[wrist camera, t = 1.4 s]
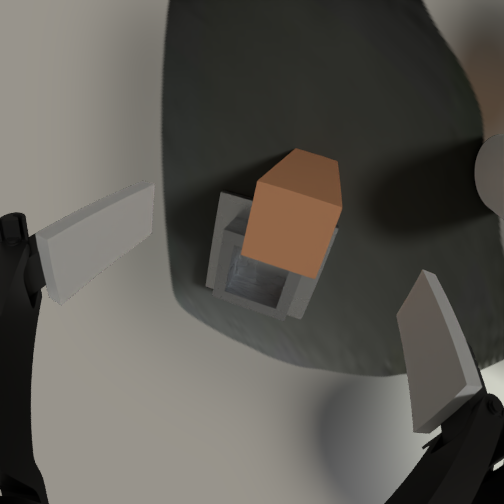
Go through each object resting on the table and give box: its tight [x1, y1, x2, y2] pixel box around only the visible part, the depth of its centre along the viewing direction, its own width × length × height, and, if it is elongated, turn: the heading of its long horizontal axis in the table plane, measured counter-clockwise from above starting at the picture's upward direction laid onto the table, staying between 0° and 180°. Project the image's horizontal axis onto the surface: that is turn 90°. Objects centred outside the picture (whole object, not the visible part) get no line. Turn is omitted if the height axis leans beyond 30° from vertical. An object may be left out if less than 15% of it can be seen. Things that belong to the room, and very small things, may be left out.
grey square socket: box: [206, 190, 338, 321], centre depth 29 cm, size 12×12×4 cm
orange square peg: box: [241, 149, 342, 279], centre depth 19 cm, size 4×4×14 cm
